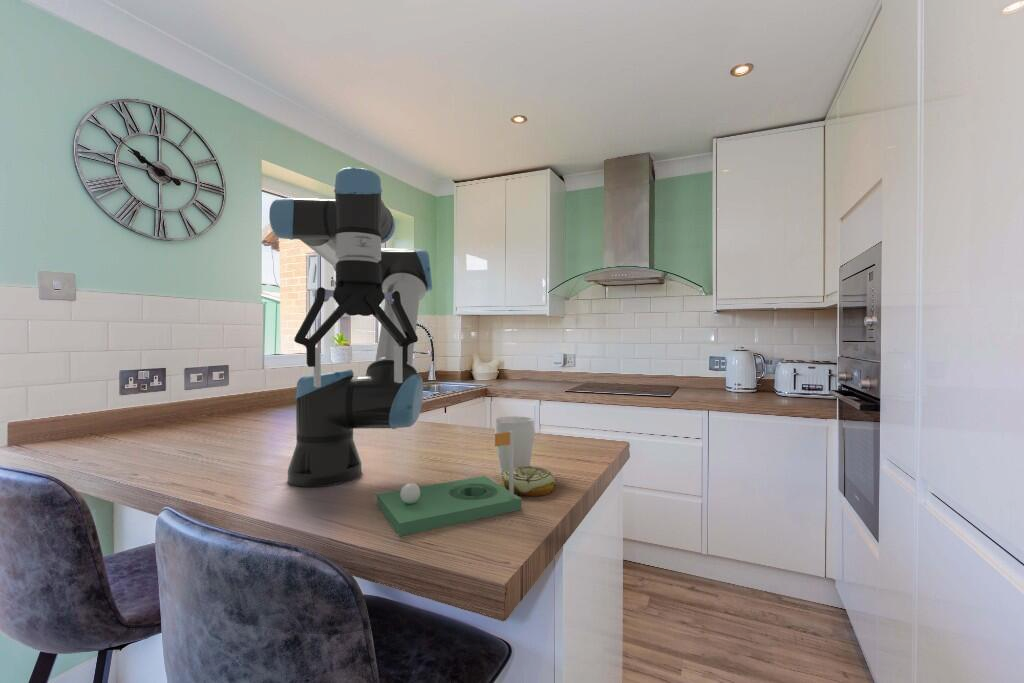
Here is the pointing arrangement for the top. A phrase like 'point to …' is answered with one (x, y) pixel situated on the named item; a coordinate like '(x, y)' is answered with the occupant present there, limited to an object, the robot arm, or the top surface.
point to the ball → (410, 493)
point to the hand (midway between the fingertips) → (359, 384)
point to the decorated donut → (530, 481)
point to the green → (452, 500)
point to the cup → (515, 441)
